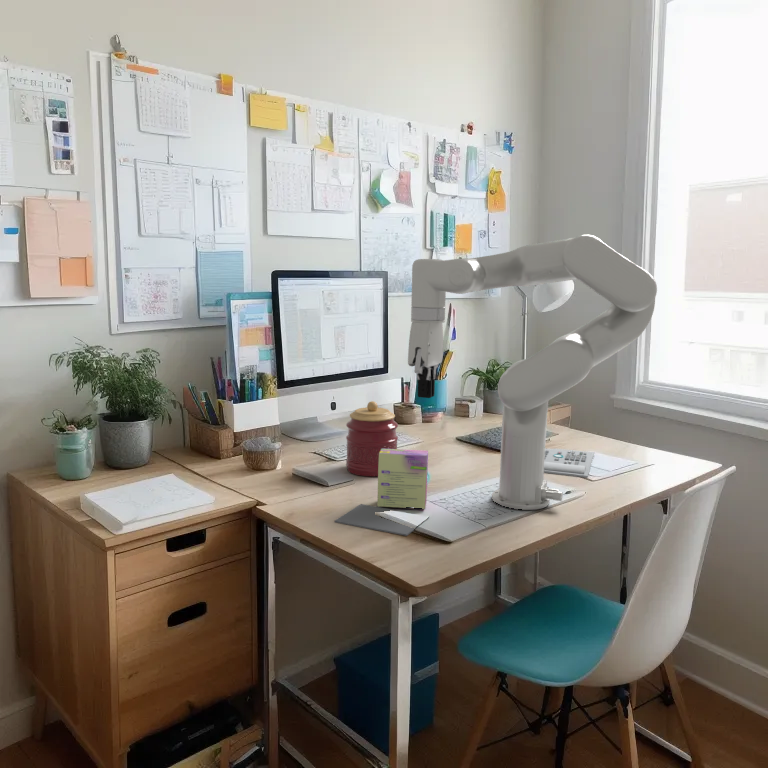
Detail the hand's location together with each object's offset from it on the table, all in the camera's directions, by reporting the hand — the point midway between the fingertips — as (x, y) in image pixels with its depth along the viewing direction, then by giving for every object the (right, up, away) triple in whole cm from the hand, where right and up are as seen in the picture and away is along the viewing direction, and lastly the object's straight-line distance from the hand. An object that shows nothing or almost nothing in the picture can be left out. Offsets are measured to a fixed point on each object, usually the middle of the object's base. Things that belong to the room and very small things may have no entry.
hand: (426, 396), depth 164 cm
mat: (-10, -25, -16) cm, 31 cm away
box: (-6, -24, -7) cm, 25 cm away
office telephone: (+36, -19, +30) cm, 50 cm away
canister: (-13, -19, +20) cm, 30 cm away
